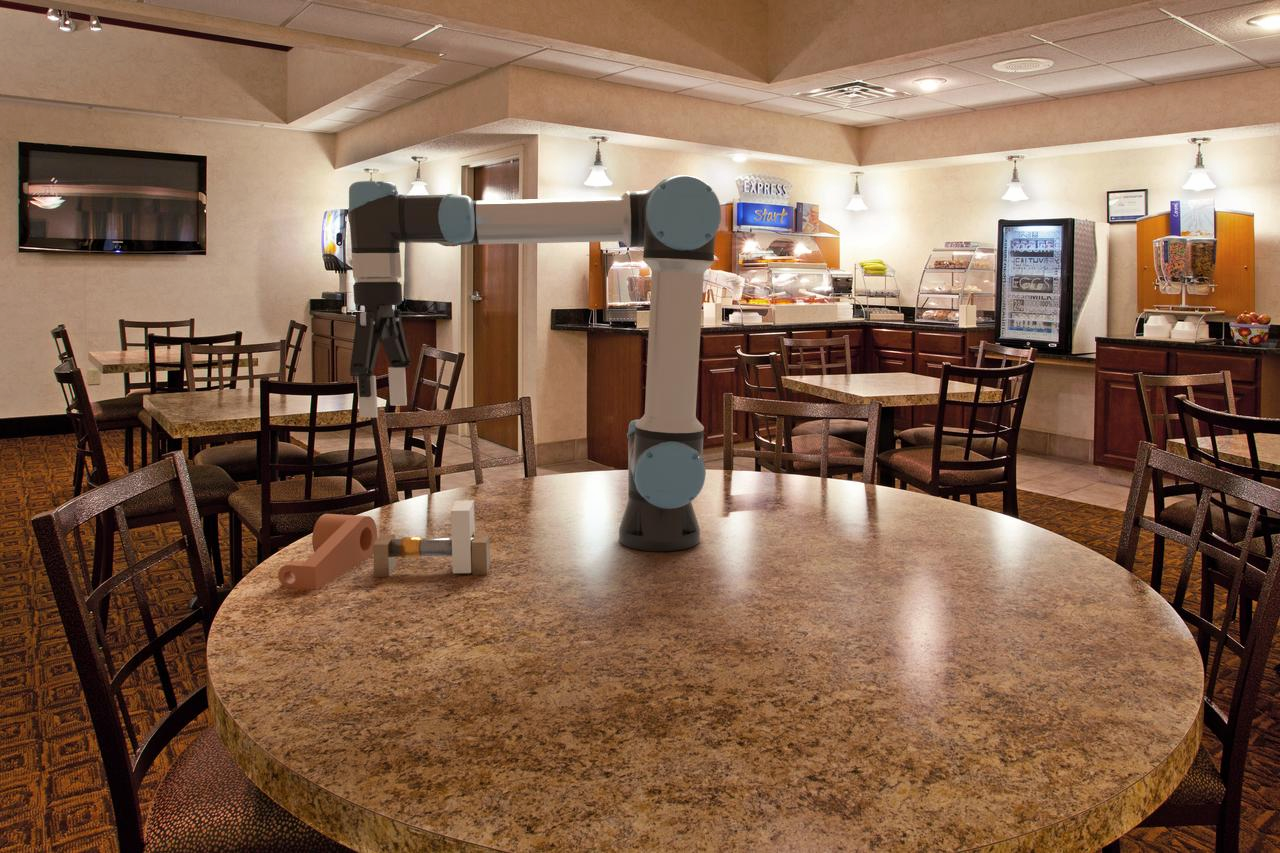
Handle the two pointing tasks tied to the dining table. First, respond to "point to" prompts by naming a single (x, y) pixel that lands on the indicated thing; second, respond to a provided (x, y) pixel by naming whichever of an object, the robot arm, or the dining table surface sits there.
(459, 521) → the sleeve
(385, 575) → the pipe rig
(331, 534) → the crank
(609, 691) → the dining table surface
